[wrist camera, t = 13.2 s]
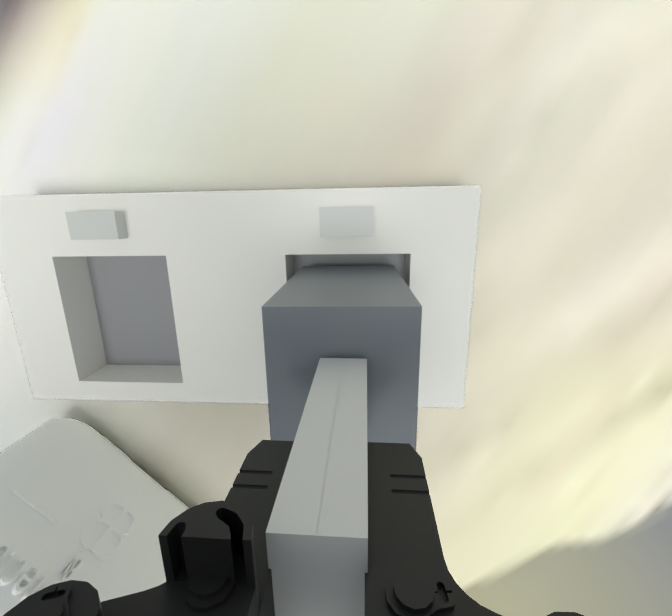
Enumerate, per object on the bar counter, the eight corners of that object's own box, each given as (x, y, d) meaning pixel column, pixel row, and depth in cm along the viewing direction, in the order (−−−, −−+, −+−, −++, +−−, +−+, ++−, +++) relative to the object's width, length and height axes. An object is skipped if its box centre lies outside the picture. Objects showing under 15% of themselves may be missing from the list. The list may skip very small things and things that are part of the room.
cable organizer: (5, 477, 29) (-221, 646, 18) (79, 397, 27) (-129, 534, 15) (149, 591, 31) (28, 806, 20) (230, 526, 29) (144, 730, 17)
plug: (310, 357, 23) (272, 469, 13) (306, 262, 22) (261, 306, 11) (389, 357, 23) (414, 473, 13) (391, 262, 21) (421, 306, 11)
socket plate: (76, 374, 26) (21, 405, 22) (37, 198, 23) (-35, 195, 19) (449, 380, 24) (466, 416, 20) (462, 189, 21) (486, 184, 17)
